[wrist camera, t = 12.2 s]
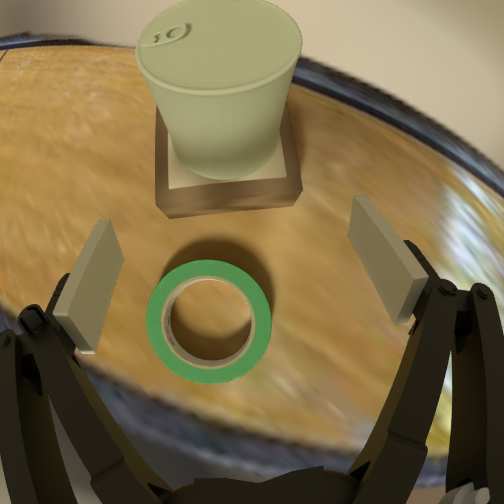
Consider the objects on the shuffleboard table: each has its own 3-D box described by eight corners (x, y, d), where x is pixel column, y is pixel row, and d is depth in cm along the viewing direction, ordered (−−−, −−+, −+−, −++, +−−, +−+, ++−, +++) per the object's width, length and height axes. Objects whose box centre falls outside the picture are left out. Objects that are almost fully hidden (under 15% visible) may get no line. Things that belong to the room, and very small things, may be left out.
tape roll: (158, 257, 28) (150, 254, 25) (272, 266, 28) (276, 264, 26) (151, 368, 27) (143, 376, 24) (264, 380, 27) (266, 388, 24)
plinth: (275, 104, 30) (281, 76, 25) (292, 206, 29) (303, 189, 24) (167, 115, 30) (157, 88, 24) (169, 218, 28) (155, 204, 23)
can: (173, 95, 24) (144, -2, 12) (272, 88, 25) (290, -13, 13) (171, 185, 23) (118, 102, 11) (285, 177, 24) (321, 86, 12)
